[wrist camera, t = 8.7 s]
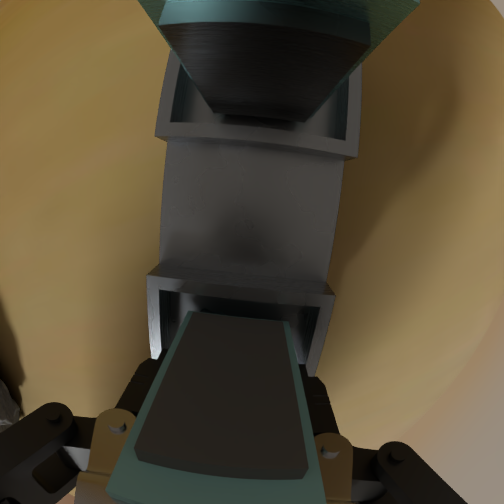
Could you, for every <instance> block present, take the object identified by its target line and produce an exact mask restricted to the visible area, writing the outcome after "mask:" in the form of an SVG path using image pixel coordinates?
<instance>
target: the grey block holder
mask: <svg viewBox="0 0 504 504" xmlns="http://www.w3.org/2000/svg"><path fill="white" fill-rule="evenodd" d="M138 2H139V3H140V4H141V6H142V7H143V9H144V10H145V11H146V13H147V14H148V16H149V17H150V18H151V20H152V21H153V23H154V24H155V26H156V27H157V29H158V30H159V31H160V33H161V34H162V36H163V37H164V39H165V40H166V42H167V43H168V45H169V46H170V48H171V50H170V54H169V58H168V63H167V67H166V72H165V77H164V82H163V87H162V92H161V98H160V103H159V109H158V115H157V122H156V129H155V137H157V138H160V139H162V140H164V141H166V142H168V143H167V151H166V160H165V170H164V181H163V193H162V207H161V226H160V258H159V264H158V265H157V266H156V267H155V268H154V269H153V270H152V271H150V272H149V273H148V274H147V307H148V325H149V339H150V350H151V358H152V359H158V357H159V355H160V353H161V351H162V349H163V348H165V349H169V348H170V346H171V344H172V342H173V340H174V338H175V336H176V334H177V332H178V330H179V328H180V326H181V324H182V322H183V320H184V318H185V316H186V314H187V312H188V310H189V311H196V312H203V313H211V314H219V315H228V316H236V317H246V318H255V319H266V320H277V321H289V325H290V330H291V334H292V339H293V343H294V347H295V352H296V356H297V361H298V364H305V365H306V369H307V373H308V376H309V377H314V376H315V372H316V369H317V366H318V362H319V359H320V355H321V352H322V348H323V344H324V341H325V337H326V333H327V329H328V325H329V322H330V317H331V313H332V309H333V305H334V301H335V296H336V295H335V294H334V292H333V291H332V290H331V288H330V287H329V285H328V284H327V282H326V280H327V274H328V269H329V264H330V258H331V253H332V247H333V241H334V235H335V229H336V222H337V216H338V209H339V201H340V194H341V186H342V177H343V168H344V161H346V160H350V159H354V158H358V149H359V136H360V121H361V98H362V62H363V61H364V60H365V58H366V57H367V56H368V55H369V54H370V53H371V52H372V51H373V50H374V49H375V48H376V47H377V46H378V45H379V44H380V43H381V42H382V41H383V40H384V39H385V38H386V37H387V36H388V35H389V34H390V33H391V32H392V31H393V30H394V29H395V28H396V27H397V26H398V25H399V24H400V23H401V22H402V21H403V20H404V19H405V18H406V17H407V16H408V15H409V14H410V13H411V12H412V11H413V10H414V9H415V8H416V7H417V6H418V5H419V4H420V1H419V0H138Z"/></svg>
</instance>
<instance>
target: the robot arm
mask: <svg viewBox="0 0 504 504" xmlns="http://www.w3.org/2000/svg"><path fill="white" fill-rule="evenodd" d="M168 350H169V349H165V348H163V349H162V351H161V353H160V355H159V357H158V359H152V358H148V359H147V360H145V361H144V362H143V363H141V364H140V365H139V367H138V368H137V370H136V372H135V375H133V377H132V379H131V382H129V384H128V386H127V387H126V389H125V391H124V393H123V394H122V396H121V398H120V400H119V401H118V403H117V405H116V407H115V408H114V409H108V410H106V411H104V412H102V413H101V414H100V415H99V416H98V417H97V418H88V417H79V416H73V414H72V412H71V410H70V409H69V408H68V407H67V406H66V405H64V404H61V403H57V402H51V403H47V404H44V405H43V406H41V407H40V408H38V409H36V410H35V411H33V412H32V413H30V414H29V415H27V416H26V417H24V418H23V419H21V420H20V421H18V422H17V423H15V424H13V425H12V426H10V427H9V428H7V429H6V430H4V431H3V432H1V433H0V504H56V503H57V502H58V501H59V500H61V499H62V498H63V497H64V496H65V495H66V494H68V493H69V492H70V491H71V490H72V489H73V488H75V487H76V491H75V500H74V504H130V503H127V502H124V501H121V500H118V499H115V498H112V497H110V496H109V495H108V493H107V492H106V491H105V489H106V487H107V484H108V482H109V480H110V477H111V475H112V472H113V470H114V468H115V465H116V463H117V461H118V458H119V456H120V454H121V451H122V449H123V447H124V445H125V442H126V440H127V438H128V436H129V433H130V431H131V429H132V427H133V424H134V422H135V420H136V418H137V416H138V413H139V411H140V409H141V407H142V405H143V403H144V400H145V398H146V396H147V394H148V392H149V390H150V388H151V386H152V383H153V381H154V379H155V377H156V375H157V373H158V371H159V369H160V367H161V365H162V363H163V360H164V358H165V356H166V354H167V352H168ZM298 365H299V370H300V374H301V379H302V384H303V388H304V393H305V397H306V402H307V407H308V412H309V416H310V421H311V426H312V431H313V436H314V441H315V446H316V451H317V456H318V461H319V466H320V471H321V476H322V482H323V487H324V492H325V498H326V503H327V504H468V503H466V502H465V501H464V500H463V499H462V498H461V497H460V496H459V495H458V494H457V493H456V492H455V491H454V490H453V489H452V488H451V487H450V486H449V485H448V484H447V483H446V482H445V481H444V480H442V478H441V477H440V476H439V475H438V474H436V472H435V471H433V469H432V468H431V467H430V466H429V465H428V464H427V463H426V462H424V460H423V459H422V458H421V457H420V456H419V455H417V453H416V452H415V451H414V450H413V449H412V448H411V447H409V446H408V445H406V444H404V443H402V442H397V441H393V442H388V443H385V444H384V445H382V446H381V447H380V449H379V450H371V449H363V448H357V447H354V446H352V445H351V443H350V442H349V440H348V439H346V438H345V437H344V436H342V435H340V433H339V430H338V427H337V423H336V420H335V417H334V413H333V410H332V407H331V404H330V400H329V397H328V394H327V391H326V387H325V385H324V384H323V383H322V382H321V380H320V379H319V378H318V377H309V376H308V373H307V369H306V365H305V364H298Z"/></svg>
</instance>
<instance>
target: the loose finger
mask: <svg viewBox="0 0 504 504" xmlns="http://www.w3.org/2000/svg"><path fill="white" fill-rule="evenodd" d="M105 491H106V492H107V493H108V495H109V496H110V497H112V498H115V499H118V500H121V501H124V502H127V503H130V504H327V503H326V498H325V492H324V487H323V482H322V476H321V471H320V466H319V461H318V456H317V451H316V446H315V441H314V436H313V431H312V426H311V421H310V416H309V412H308V407H307V402H306V397H305V393H304V388H303V384H302V379H301V374H300V370H299V365H298V361H297V356H296V352H295V347H294V343H293V339H292V334H291V330H290V325H289V321H277V320H266V319H255V318H246V317H236V316H228V315H219V314H211V313H203V312H196V311H189V310H188V312H187V314H186V316H185V318H184V320H183V322H182V324H181V326H180V328H179V330H178V332H177V334H176V336H175V338H174V340H173V342H172V344H171V346H170V348H169V350H168V352H167V354H166V356H165V358H164V360H163V363H162V365H161V367H160V369H159V371H158V373H157V375H156V377H155V379H154V381H153V383H152V386H151V388H150V390H149V392H148V394H147V396H146V398H145V400H144V403H143V405H142V407H141V409H140V411H139V413H138V416H137V418H136V420H135V422H134V424H133V427H132V429H131V431H130V433H129V436H128V438H127V440H126V442H125V445H124V447H123V449H122V451H121V454H120V456H119V458H118V461H117V463H116V465H115V468H114V470H113V472H112V475H111V477H110V480H109V482H108V484H107V487H106V489H105Z"/></svg>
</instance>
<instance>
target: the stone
mask: <svg viewBox="0 0 504 504" xmlns="http://www.w3.org/2000/svg"><path fill="white" fill-rule="evenodd" d="M19 410H20V408H19V406H18V405H17V404H16V402H15V401H14V400H13V399H12V398H11V396H10V394H9V391H8V389H7V387H6V385H5V384H4V382H3V381H1V380H0V433H1V432H3V431H4V430H6V429H7V428H9V427H10V426H12V425H13V424H15V423H17V422H18V421H19Z"/></svg>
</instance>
